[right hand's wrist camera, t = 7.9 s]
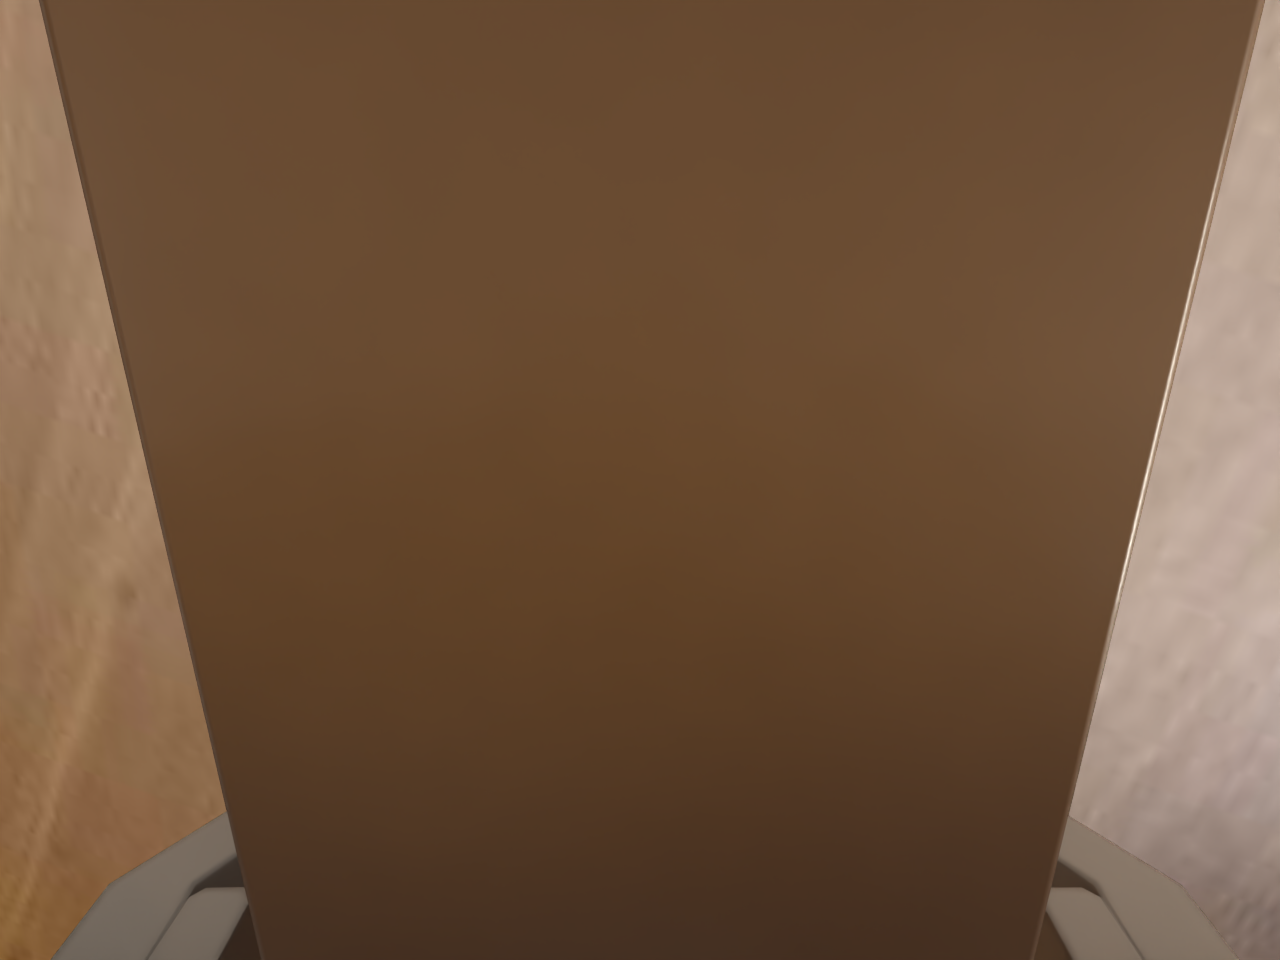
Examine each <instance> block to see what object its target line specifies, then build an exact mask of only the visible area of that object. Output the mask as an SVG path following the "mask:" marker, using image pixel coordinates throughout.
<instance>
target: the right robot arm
mask: <svg viewBox="0 0 1280 960" xmlns="http://www.w3.org/2000/svg"><path fill="white" fill-rule="evenodd" d="M51 960H261V957H260V952H259V948H258V944H257V939H256V935H255V931H254V927H253V922H252V918H251V914H250V909H249V905H248V901H247V896H246V892H245V888H244V883H243V879H242V875H241V870H240V866H239V862H238V857H237V853H236V849H235V844H234V840H233V836H232V832H231V827H230V823H229V819H228V814H227V811H226V812H225V813H223V814H222V815H220V816H218V817H217V818H215V819H214V820H212V821H210V822H209V823H207V824H205V825H204V826H202V827H201V828H199V829H197V830H196V831H194V832H192V833H191V834H189V835H188V836H186V837H184V838H183V839H181V840H180V841H178V842H176V843H175V844H173V845H171V846H170V847H168V848H167V849H165V850H163V851H162V852H160V853H159V854H157V855H155V856H154V857H152V858H150V859H149V860H147V861H146V862H144V863H142V864H141V865H139V866H137V867H136V868H134V869H133V870H131V871H129V872H128V873H126V874H125V875H123V876H121V877H120V878H118V879H116V880H115V881H113V882H112V883H110V884H109V885H108V886H107V887H106V889H105V890H104V891H103V893H102V894H101V895H100V896H99V898H98V899H97V900H96V902H95V903H94V904H93V906H92V907H91V908H90V909H89V911H88V912H87V913H86V915H85V916H84V917H83V919H82V920H81V921H80V922H79V924H78V925H77V926H76V928H75V929H74V930H73V931H72V933H71V934H70V935H69V937H68V938H67V939H66V941H65V942H64V943H63V944H62V946H61V947H60V948H59V950H58V951H57V952H56V953H55V955H54V956H53V957H52V959H51ZM1034 960H1240V959H1239V958H1238V957H1237V956H1236V954H1235V953H1234V952H1233V950H1232V949H1231V948H1230V947H1229V945H1228V944H1227V943H1226V941H1225V940H1224V939H1223V938H1222V936H1221V935H1220V934H1219V932H1218V931H1217V930H1216V929H1215V927H1214V926H1213V925H1212V923H1211V922H1210V921H1209V920H1208V918H1207V917H1206V916H1205V914H1204V913H1203V912H1202V911H1201V909H1200V908H1199V907H1198V906H1197V904H1196V903H1195V902H1194V900H1193V899H1192V898H1191V897H1190V895H1189V894H1188V893H1187V891H1186V890H1185V889H1184V888H1183V886H1182V885H1180V884H1179V883H1177V882H1176V881H1174V880H1172V879H1171V878H1169V877H1167V876H1166V875H1164V874H1163V873H1161V872H1159V871H1158V870H1156V869H1154V868H1153V867H1151V866H1150V865H1148V864H1146V863H1145V862H1143V861H1141V860H1140V859H1138V858H1136V857H1135V856H1133V855H1132V854H1130V853H1128V852H1127V851H1125V850H1123V849H1122V848H1120V847H1119V846H1117V845H1115V844H1114V843H1112V842H1110V841H1109V840H1107V839H1106V838H1104V837H1102V836H1101V835H1099V834H1097V833H1096V832H1094V831H1093V830H1091V829H1089V828H1088V827H1086V826H1084V825H1083V824H1081V823H1080V822H1078V821H1076V820H1075V819H1073V818H1071V817H1070V816H1068V819H1067V824H1066V828H1065V832H1064V836H1063V840H1062V844H1061V848H1060V853H1059V857H1058V861H1057V865H1056V869H1055V873H1054V877H1053V882H1052V886H1051V890H1050V894H1049V898H1048V902H1047V906H1046V911H1045V915H1044V919H1043V923H1042V927H1041V931H1040V935H1039V940H1038V944H1037V948H1036V952H1035V956H1034Z"/></svg>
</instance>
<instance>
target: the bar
mask: <svg viewBox="0 0 1280 960" xmlns="http://www.w3.org/2000/svg"><path fill="white" fill-rule="evenodd" d="M39 3H40V7H41V11H42V15H43V20H44V24H45V28H46V33H47V37H48V41H49V46H50V50H51V54H52V59H53V63H54V67H55V72H56V76H57V80H58V85H59V89H60V93H61V97H62V102H63V106H64V110H65V115H66V119H67V123H68V128H69V132H70V136H71V141H72V145H73V149H74V154H75V158H76V162H77V167H78V171H79V175H80V180H81V184H82V188H83V192H84V197H85V201H86V205H87V210H88V214H89V218H90V223H91V227H92V231H93V236H94V240H95V244H96V249H97V253H98V257H99V262H100V266H101V270H102V275H103V279H104V283H105V287H106V292H107V296H108V300H109V305H110V309H111V313H112V318H113V322H114V326H115V331H116V335H117V339H118V344H119V348H120V352H121V357H122V361H123V365H124V370H125V374H126V378H127V382H128V387H129V391H130V395H131V400H132V404H133V408H134V413H135V417H136V421H137V426H138V430H139V434H140V439H141V443H142V447H143V452H144V456H145V460H146V465H147V469H148V473H149V477H150V482H151V486H152V490H153V495H154V499H155V503H156V508H157V512H158V516H159V521H160V525H161V529H162V534H163V538H164V542H165V547H166V551H167V555H168V559H169V564H170V568H171V572H172V577H173V581H174V585H175V590H176V594H177V598H178V603H179V607H180V611H181V616H182V620H183V624H184V629H185V633H186V637H187V642H188V646H189V650H190V654H191V659H192V663H193V667H194V672H195V676H196V680H197V685H198V689H199V693H200V698H201V702H202V706H203V711H204V715H205V719H206V724H207V728H208V732H209V737H210V741H211V745H212V749H213V754H214V758H215V762H216V767H217V771H218V775H219V780H220V784H221V788H222V793H223V797H224V801H225V806H226V810H227V814H228V819H229V823H230V827H231V832H232V836H233V840H234V844H235V849H236V853H237V857H238V862H239V866H240V870H241V875H242V879H243V883H244V888H245V892H246V896H247V901H248V905H249V909H250V914H251V918H252V922H253V927H254V931H255V935H256V939H257V944H258V948H259V952H260V957H261V960H1034V956H1035V952H1036V948H1037V944H1038V940H1039V935H1040V931H1041V927H1042V923H1043V919H1044V915H1045V911H1046V906H1047V902H1048V898H1049V894H1050V890H1051V886H1052V882H1053V877H1054V873H1055V869H1056V865H1057V861H1058V857H1059V853H1060V848H1061V844H1062V840H1063V836H1064V832H1065V828H1066V824H1067V819H1068V815H1069V811H1070V807H1071V803H1072V799H1073V795H1074V790H1075V786H1076V782H1077V778H1078V774H1079V770H1080V765H1081V761H1082V757H1083V753H1084V749H1085V745H1086V741H1087V736H1088V732H1089V728H1090V724H1091V720H1092V716H1093V712H1094V707H1095V703H1096V699H1097V695H1098V691H1099V687H1100V683H1101V678H1102V674H1103V670H1104V666H1105V662H1106V658H1107V654H1108V649H1109V645H1110V641H1111V637H1112V633H1113V629H1114V625H1115V620H1116V616H1117V612H1118V608H1119V604H1120V600H1121V596H1122V591H1123V587H1124V583H1125V579H1126V575H1127V571H1128V567H1129V562H1130V558H1131V554H1132V550H1133V546H1134V542H1135V538H1136V533H1137V529H1138V525H1139V521H1140V517H1141V513H1142V509H1143V504H1144V500H1145V496H1146V492H1147V488H1148V484H1149V480H1150V475H1151V471H1152V467H1153V463H1154V459H1155V455H1156V450H1157V446H1158V442H1159V438H1160V434H1161V430H1162V426H1163V421H1164V417H1165V413H1166V409H1167V405H1168V401H1169V397H1170V392H1171V388H1172V384H1173V380H1174V376H1175V372H1176V368H1177V363H1178V359H1179V355H1180V351H1181V347H1182V343H1183V339H1184V334H1185V330H1186V326H1187V322H1188V318H1189V314H1190V310H1191V305H1192V301H1193V297H1194V293H1195V289H1196V285H1197V281H1198V276H1199V272H1200V268H1201V264H1202V260H1203V256H1204V252H1205V247H1206V243H1207V239H1208V235H1209V231H1210V227H1211V223H1212V218H1213V214H1214V210H1215V206H1216V202H1217V198H1218V194H1219V189H1220V185H1221V181H1222V177H1223V173H1224V169H1225V165H1226V160H1227V156H1228V152H1229V148H1230V144H1231V140H1232V136H1233V131H1234V127H1235V123H1236V119H1237V115H1238V111H1239V106H1240V102H1241V98H1242V94H1243V90H1244V86H1245V82H1246V77H1247V73H1248V69H1249V65H1250V61H1251V57H1252V53H1253V48H1254V44H1255V40H1256V36H1257V32H1258V28H1259V24H1260V19H1261V15H1262V11H1263V7H1264V3H1265V0H39Z"/></svg>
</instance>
